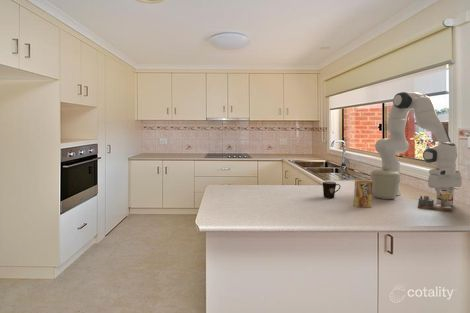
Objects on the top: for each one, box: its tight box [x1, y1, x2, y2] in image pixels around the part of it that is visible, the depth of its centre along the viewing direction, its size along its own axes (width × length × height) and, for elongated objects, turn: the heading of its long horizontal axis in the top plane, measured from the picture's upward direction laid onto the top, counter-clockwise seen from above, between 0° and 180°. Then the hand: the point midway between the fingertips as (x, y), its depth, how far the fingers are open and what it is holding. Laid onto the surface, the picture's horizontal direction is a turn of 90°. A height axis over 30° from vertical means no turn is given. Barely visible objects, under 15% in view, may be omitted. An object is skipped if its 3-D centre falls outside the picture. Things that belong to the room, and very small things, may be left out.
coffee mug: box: [322, 180, 341, 200], centre depth 198 cm, size 12×9×10 cm
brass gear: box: [435, 192, 452, 200], centre depth 172 cm, size 7×7×3 cm
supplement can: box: [436, 187, 455, 207], centre depth 183 cm, size 8×8×15 cm
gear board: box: [417, 195, 453, 213], centre depth 174 cm, size 16×10×6 cm, turn 60°
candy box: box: [353, 179, 373, 208], centre depth 176 cm, size 9×4×15 cm, turn 86°
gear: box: [418, 195, 435, 206], centre depth 176 cm, size 7×7×5 cm
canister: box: [370, 166, 402, 200], centre depth 199 cm, size 18×18×21 cm
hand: (444, 195), depth 172 cm, fingers closed on brass gear, 6 cm apart
